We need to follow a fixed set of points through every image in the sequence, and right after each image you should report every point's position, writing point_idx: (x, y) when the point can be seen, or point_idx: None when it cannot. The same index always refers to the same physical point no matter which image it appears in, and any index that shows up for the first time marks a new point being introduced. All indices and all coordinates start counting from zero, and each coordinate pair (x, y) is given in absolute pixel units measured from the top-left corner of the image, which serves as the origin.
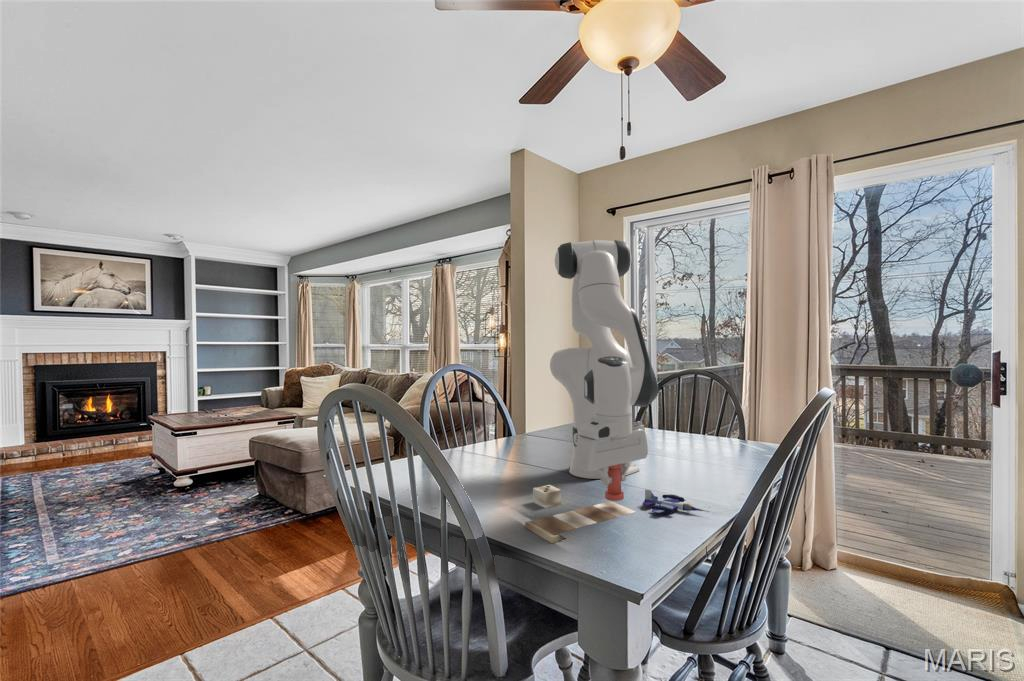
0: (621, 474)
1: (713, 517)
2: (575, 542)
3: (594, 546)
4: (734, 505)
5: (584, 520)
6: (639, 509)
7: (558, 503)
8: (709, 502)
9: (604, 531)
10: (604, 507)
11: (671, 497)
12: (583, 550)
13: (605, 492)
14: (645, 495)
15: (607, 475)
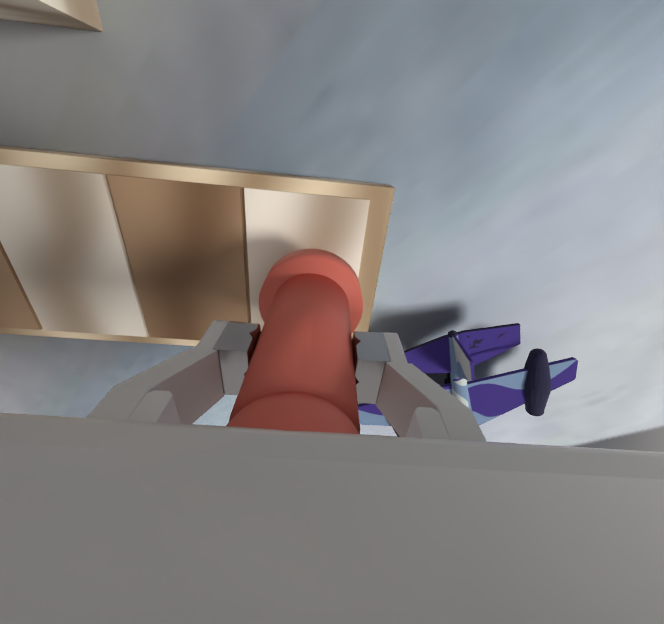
0: (358, 398)
1: (506, 440)
2: (37, 350)
3: (86, 391)
4: (644, 429)
5: (106, 297)
6: (428, 293)
7: (42, 13)
8: (644, 385)
9: (170, 347)
10: (277, 246)
11: (527, 387)
12: (44, 391)
13: (270, 278)
14: (459, 346)
15: (195, 414)
